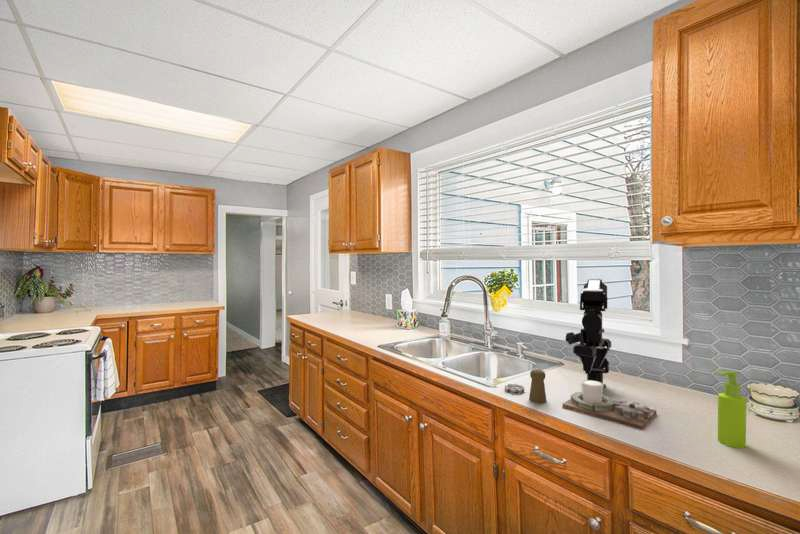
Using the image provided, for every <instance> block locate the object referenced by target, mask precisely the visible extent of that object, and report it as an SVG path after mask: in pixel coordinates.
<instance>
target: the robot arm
mask: <svg viewBox="0 0 800 534" xmlns="http://www.w3.org/2000/svg"><path fill="white" fill-rule="evenodd" d="M582 289H583V290H582V292H580V295H579V296H580V297H579V298H580V300H579V310H580V311H583V316H582V319H581V324H582V327H583V328H581V329H580V332H576V333H574V332H573V331H570V332H567V333H566V335H565V338H564V339H565V341H566V342H567V343H568V345H573V344H575V343H576V345H574V346H573V348H572V351H573V352H572V353H573V354H574V355H575V356H577V357H579V358H580V360H581V363H582V370H583V372H584V373H585V374H586V380H594V381H598V382H601V383H603V384H604V386H603V389H604V388H605V387H607V384H605V383H604V374H608V373H609V372H610V362H609V361H608V357H606V356H607V354H608V353H609V351H610V350H611V349H610V348H612V341H611V340H610V339H609V338H604V337H603V333H605V328H603V313H602V312H606V310H607V309H608V286H607V285H606V284H605V283H604V282H603V279H601V278H589V279H587V282H586V283H585V284H583V288H582ZM577 343H578V344H577Z"/></svg>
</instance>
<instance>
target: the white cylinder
mask: <svg viewBox="0 0 800 534" xmlns="http://www.w3.org/2000/svg"><path fill="white" fill-rule="evenodd" d="M604 384H605V383H604V382H603V383H601V382H598V381H594V380H587V379H585V380H582V381H581V389H582V391H581V392H583V401H585V402H589V403H593V404H602V396H603V395H604V393H603V392H604V388H603V386H604Z"/></svg>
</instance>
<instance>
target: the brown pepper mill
mask: <svg viewBox="0 0 800 534" xmlns="http://www.w3.org/2000/svg"><path fill="white" fill-rule="evenodd" d="M529 377H530V378H531V383H530V389H529V390H530V391H529V398H528V400H529V401H530V402H531V403H534V404H546V403H547V402H548V401H547V393H546V387H545V379H546V372H545V371H544V370H542V369H532V370H531V371H530V373H529Z"/></svg>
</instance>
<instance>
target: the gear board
mask: <svg viewBox="0 0 800 534" xmlns="http://www.w3.org/2000/svg"><path fill="white" fill-rule="evenodd" d="M640 404H641V403H639V402H634V401H632V402H628V401H626V400H621V401H619V400H617V399H616V400H615V399H613V398H611V397H610V396H608V395H606V394H603V396H602V404H593V403H589V402H585V401H583V391H577V392H574V393H573V394H571V395H570V398H569V399H568V400H566V401H565V402H563V403H562V408H564V409H567V410H571V411H575V412H578V413H580V414H581V413H582V414H585V415H587V416H588V415H589V416H593V417H597V418H600V419H603V420H606V421H610V422H614V423H616V424H621V425H624V426H628V427H632V428H634V429H635V428H636V429H639V430H641V431H642V430H644V429H645V427H647V426H648V425H649V423H650V422H651V421H652V420H653V419H654V417H656V416H657V409H656V410H655V409H651V408H650V407H648V406H647V405H640Z"/></svg>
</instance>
